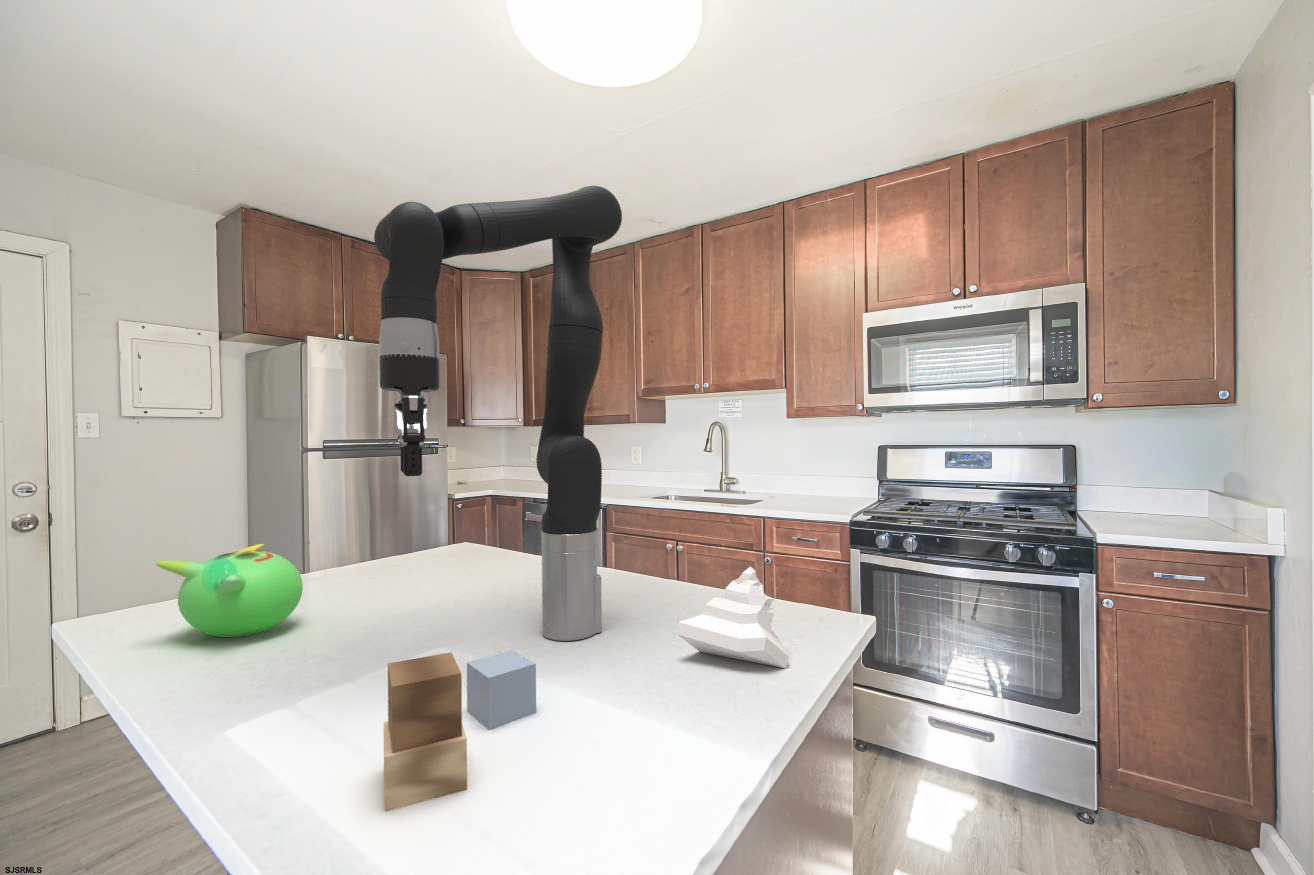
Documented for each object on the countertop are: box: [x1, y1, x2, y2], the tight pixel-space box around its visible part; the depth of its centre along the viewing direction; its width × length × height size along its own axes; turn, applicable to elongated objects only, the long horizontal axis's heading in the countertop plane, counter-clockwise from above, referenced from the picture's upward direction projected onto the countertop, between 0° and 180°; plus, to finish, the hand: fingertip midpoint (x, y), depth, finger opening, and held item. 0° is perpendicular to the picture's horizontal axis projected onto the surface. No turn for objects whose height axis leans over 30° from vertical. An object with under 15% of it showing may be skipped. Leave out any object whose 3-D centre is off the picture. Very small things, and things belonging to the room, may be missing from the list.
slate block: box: [466, 649, 537, 731], centre depth 69 cm, size 6×6×6 cm
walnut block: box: [387, 651, 463, 753], centre depth 55 cm, size 6×6×6 cm
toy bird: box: [156, 543, 304, 638], centre depth 97 cm, size 18×17×15 cm
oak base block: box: [383, 720, 468, 812], centre depth 55 cm, size 7×7×5 cm
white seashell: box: [676, 565, 789, 669], centre depth 86 cm, size 12×15×14 cm
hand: (410, 474), depth 78 cm, fingers open, 8 cm apart
